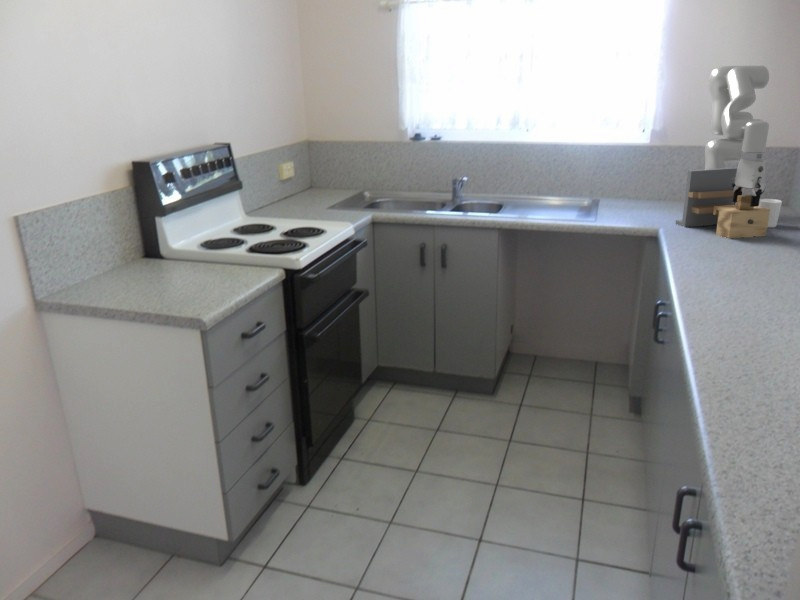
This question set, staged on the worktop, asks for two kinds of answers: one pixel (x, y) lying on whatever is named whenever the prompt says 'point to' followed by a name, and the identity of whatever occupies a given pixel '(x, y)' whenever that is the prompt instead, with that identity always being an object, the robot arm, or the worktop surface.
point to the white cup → (771, 210)
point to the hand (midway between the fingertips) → (745, 204)
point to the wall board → (706, 195)
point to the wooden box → (741, 219)
